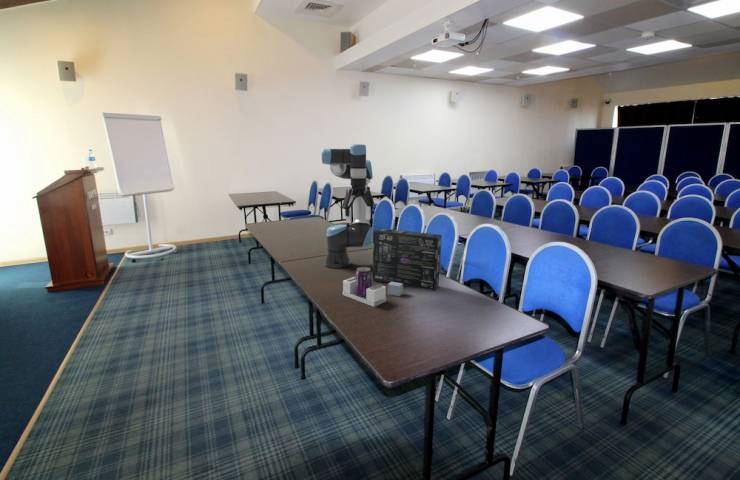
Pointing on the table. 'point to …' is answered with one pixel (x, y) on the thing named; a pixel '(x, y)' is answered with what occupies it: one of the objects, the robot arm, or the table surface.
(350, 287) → the block
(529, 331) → the table surface
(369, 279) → the beverage can
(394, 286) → the block
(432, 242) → the box
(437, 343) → the table surface
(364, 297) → the white base plate
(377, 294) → the block
